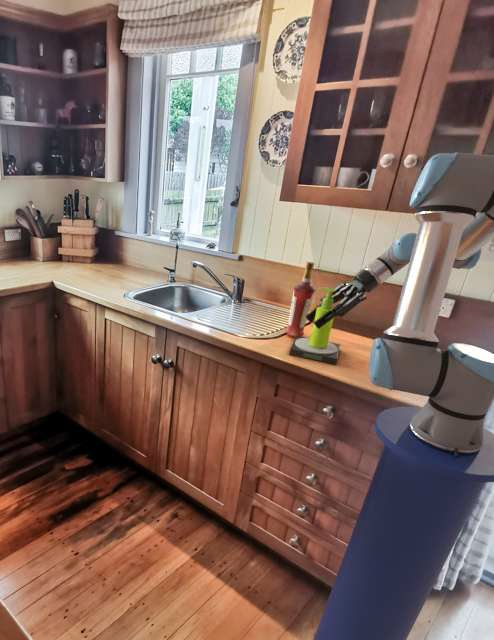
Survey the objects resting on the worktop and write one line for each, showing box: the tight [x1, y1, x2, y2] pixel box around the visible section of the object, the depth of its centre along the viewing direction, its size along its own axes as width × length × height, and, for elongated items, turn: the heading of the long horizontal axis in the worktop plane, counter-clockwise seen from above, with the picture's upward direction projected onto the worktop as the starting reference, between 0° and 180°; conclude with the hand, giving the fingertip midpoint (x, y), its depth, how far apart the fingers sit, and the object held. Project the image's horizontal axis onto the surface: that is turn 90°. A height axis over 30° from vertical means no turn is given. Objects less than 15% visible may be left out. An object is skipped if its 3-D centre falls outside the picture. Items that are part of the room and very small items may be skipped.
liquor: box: [284, 261, 316, 339], centre depth 172 cm, size 7×7×28 cm
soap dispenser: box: [309, 286, 336, 348], centre depth 159 cm, size 6×7×20 cm
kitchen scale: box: [288, 335, 341, 365], centre depth 163 cm, size 15×15×3 cm
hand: (311, 322), depth 159 cm, fingers closed on soap dispenser, 6 cm apart
